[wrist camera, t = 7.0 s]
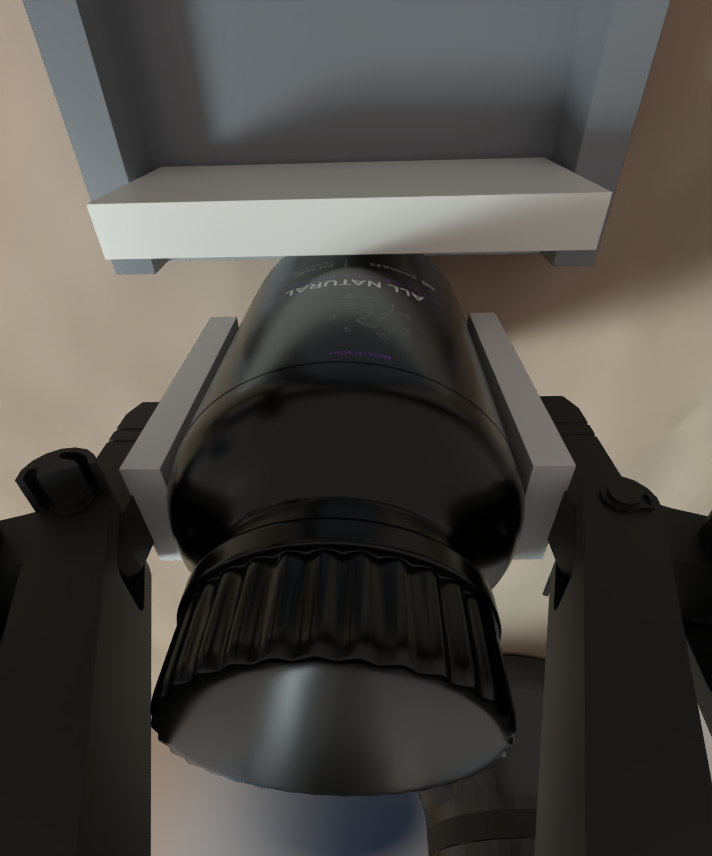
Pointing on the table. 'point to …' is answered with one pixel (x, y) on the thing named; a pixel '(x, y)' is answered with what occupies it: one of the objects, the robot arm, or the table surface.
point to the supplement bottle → (343, 541)
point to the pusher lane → (346, 85)
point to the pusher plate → (351, 209)
